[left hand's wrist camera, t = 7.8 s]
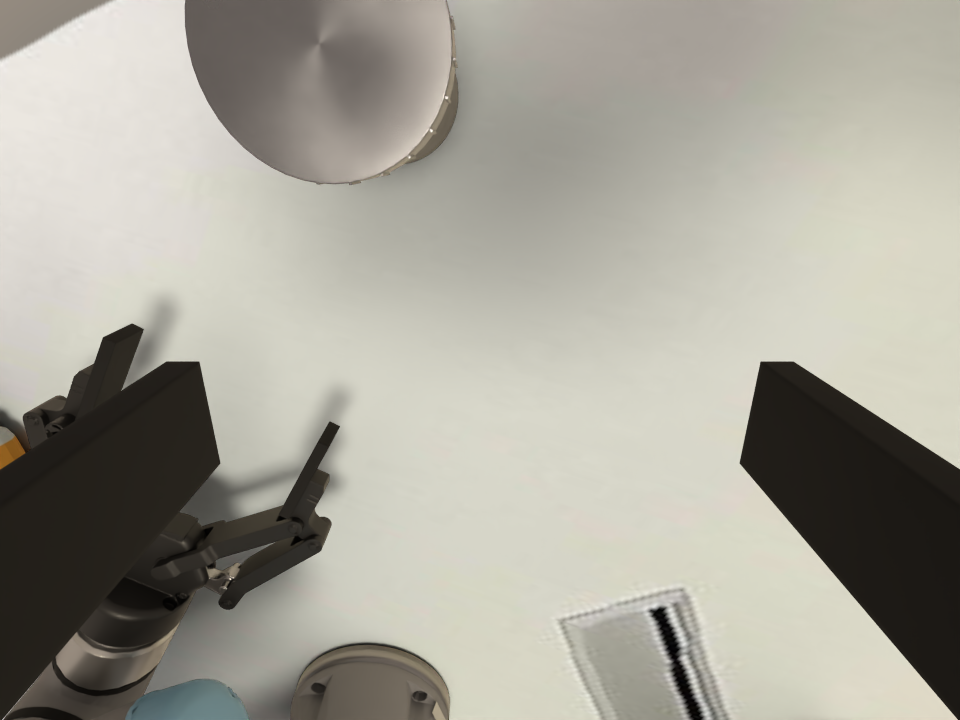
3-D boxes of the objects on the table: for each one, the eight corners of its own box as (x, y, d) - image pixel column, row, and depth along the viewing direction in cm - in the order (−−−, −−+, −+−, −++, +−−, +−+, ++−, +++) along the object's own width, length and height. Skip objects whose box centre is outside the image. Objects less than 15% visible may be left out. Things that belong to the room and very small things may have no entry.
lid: (165, 58, 20) (130, 47, 18) (313, -168, 18) (291, -211, 16) (353, 230, 23) (340, 237, 21) (507, 51, 20) (510, 39, 18)
